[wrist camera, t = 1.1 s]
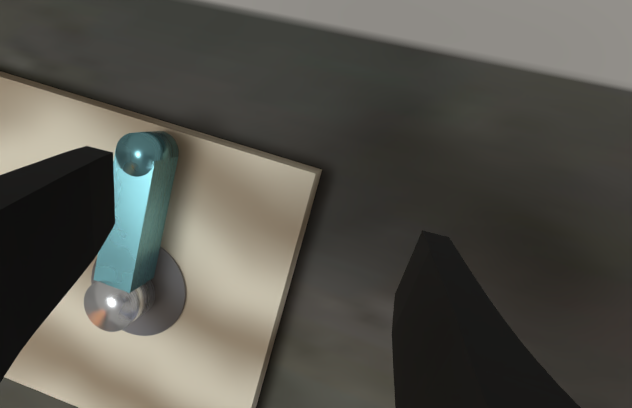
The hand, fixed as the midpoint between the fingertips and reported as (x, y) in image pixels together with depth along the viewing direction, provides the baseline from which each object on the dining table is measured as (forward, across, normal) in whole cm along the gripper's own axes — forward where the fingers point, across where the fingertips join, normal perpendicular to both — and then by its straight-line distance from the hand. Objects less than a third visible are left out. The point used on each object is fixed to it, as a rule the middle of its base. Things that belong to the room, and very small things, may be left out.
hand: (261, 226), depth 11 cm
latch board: (+9, +8, +12) cm, 17 cm away
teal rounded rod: (+8, +6, +8) cm, 13 cm away
